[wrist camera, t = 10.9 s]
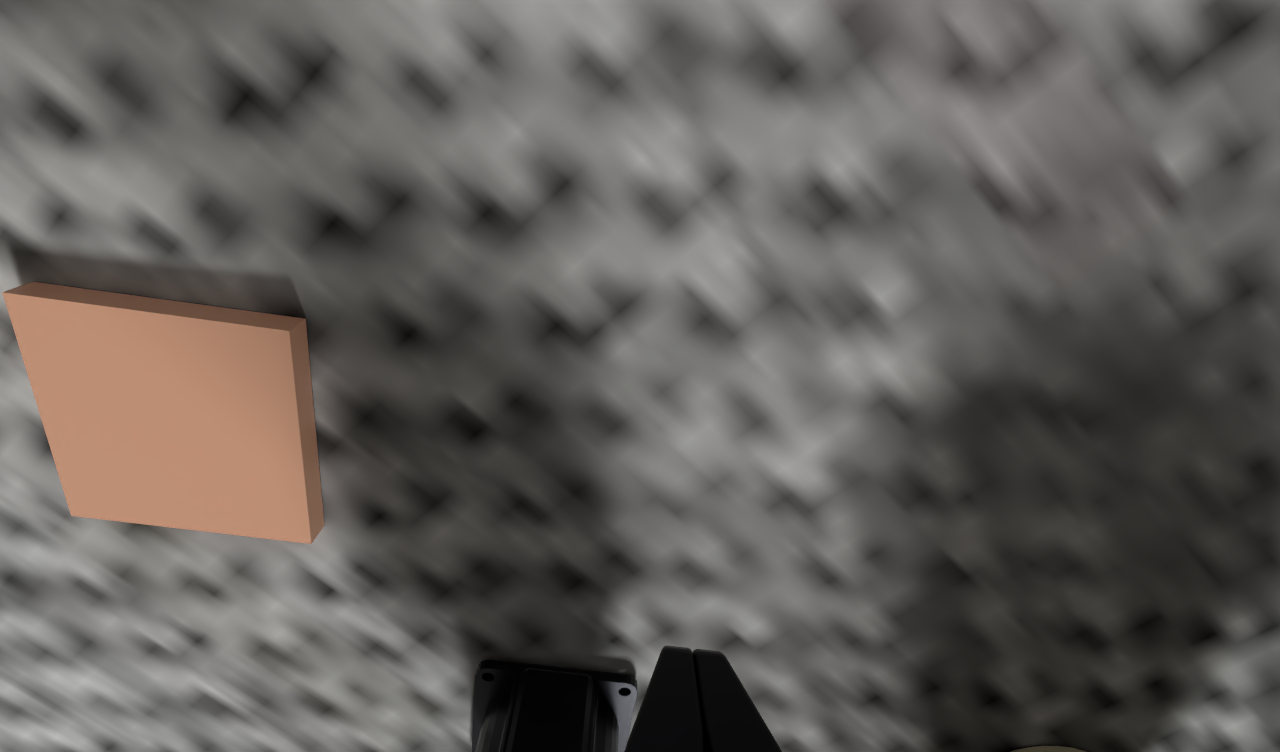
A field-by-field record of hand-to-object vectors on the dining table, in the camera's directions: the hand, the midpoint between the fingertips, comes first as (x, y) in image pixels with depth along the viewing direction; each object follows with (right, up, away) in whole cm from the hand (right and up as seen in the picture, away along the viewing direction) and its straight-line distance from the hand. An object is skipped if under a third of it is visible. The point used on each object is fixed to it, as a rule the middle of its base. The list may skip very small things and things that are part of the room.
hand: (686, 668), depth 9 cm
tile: (-15, +3, +12) cm, 20 cm away
